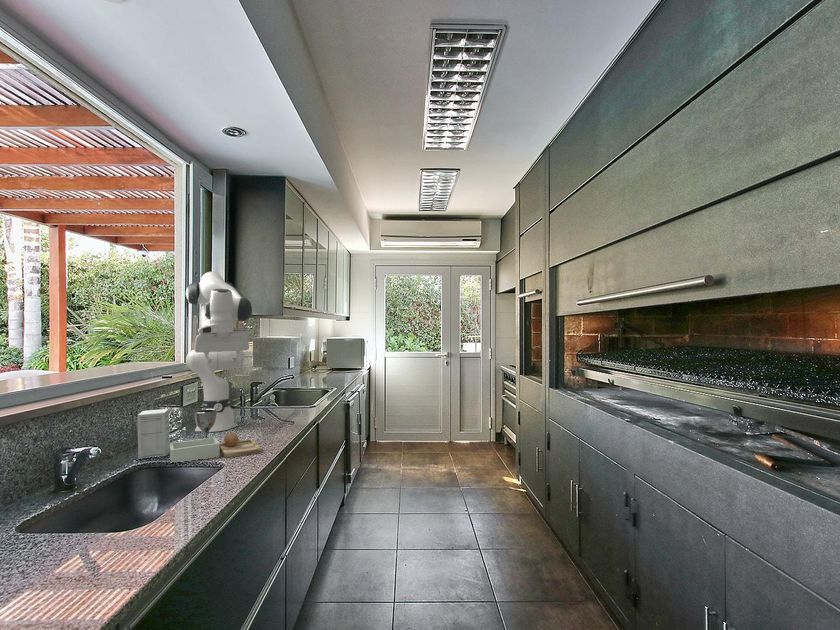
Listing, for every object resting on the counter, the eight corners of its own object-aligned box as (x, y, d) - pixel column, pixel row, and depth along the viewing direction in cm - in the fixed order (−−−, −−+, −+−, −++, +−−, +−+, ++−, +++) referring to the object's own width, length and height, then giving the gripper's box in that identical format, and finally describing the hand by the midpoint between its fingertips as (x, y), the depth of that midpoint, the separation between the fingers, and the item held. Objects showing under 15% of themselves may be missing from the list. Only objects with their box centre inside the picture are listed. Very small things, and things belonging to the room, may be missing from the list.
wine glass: (190, 449, 184) (190, 411, 184) (208, 444, 191) (207, 408, 191) (203, 451, 180) (203, 413, 180) (221, 446, 187) (220, 409, 187)
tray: (218, 447, 186) (218, 443, 186) (252, 442, 192) (252, 439, 192) (224, 458, 170) (224, 454, 170) (261, 452, 177) (261, 448, 177)
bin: (169, 456, 174) (169, 443, 175) (215, 449, 183) (215, 437, 183) (170, 464, 164) (170, 450, 164) (219, 456, 172) (219, 443, 172)
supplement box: (170, 451, 182) (170, 408, 183) (166, 457, 174) (165, 412, 174) (142, 453, 179) (142, 410, 179) (137, 460, 170) (136, 414, 171)
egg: (243, 441, 184) (237, 437, 190) (235, 431, 182) (230, 428, 189) (232, 450, 181) (227, 446, 188) (224, 441, 180) (219, 437, 186)
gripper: (247, 328, 194) (248, 360, 194) (193, 329, 184) (194, 364, 183) (250, 327, 188) (251, 361, 188) (194, 329, 178) (195, 365, 178)
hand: (222, 362), depth 186 cm, fingers open, 8 cm apart
